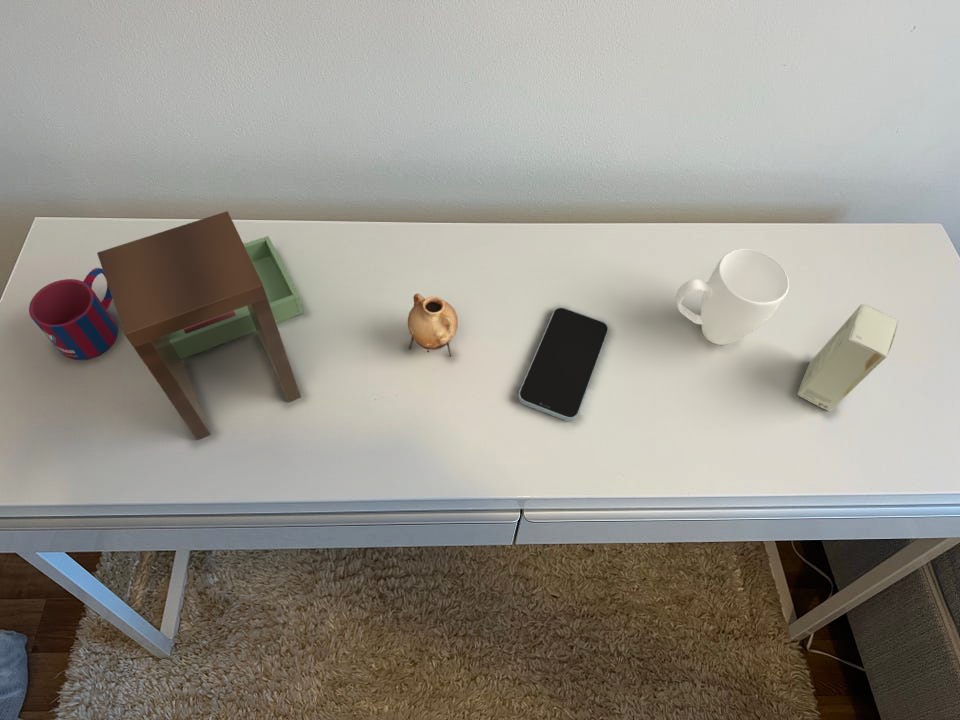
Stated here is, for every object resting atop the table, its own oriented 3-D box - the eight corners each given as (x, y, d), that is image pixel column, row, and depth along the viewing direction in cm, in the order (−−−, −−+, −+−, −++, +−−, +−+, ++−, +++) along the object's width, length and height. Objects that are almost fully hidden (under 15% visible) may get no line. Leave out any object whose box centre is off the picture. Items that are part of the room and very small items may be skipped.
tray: (172, 362, 79) (162, 346, 76) (148, 296, 84) (138, 279, 81) (303, 313, 84) (299, 296, 81) (273, 253, 89) (268, 235, 86)
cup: (45, 345, 79) (14, 311, 74) (106, 287, 84) (83, 251, 79) (89, 369, 78) (61, 336, 72) (149, 308, 83) (128, 273, 77)
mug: (740, 305, 89) (778, 247, 80) (757, 358, 85) (799, 304, 75) (652, 305, 88) (679, 247, 79) (665, 359, 84) (695, 304, 74)
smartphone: (611, 324, 85) (576, 421, 77) (609, 328, 86) (574, 424, 78) (556, 304, 86) (515, 398, 78) (554, 309, 87) (514, 402, 79)
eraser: (186, 331, 81) (191, 343, 80) (178, 317, 79) (183, 329, 78) (234, 313, 83) (240, 325, 82) (228, 298, 80) (234, 310, 80)
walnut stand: (197, 440, 74) (124, 334, 57) (172, 371, 79) (96, 252, 61) (301, 397, 78) (263, 284, 60) (271, 333, 82) (227, 210, 65)
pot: (410, 323, 85) (405, 363, 81) (410, 278, 79) (404, 319, 75) (457, 327, 85) (454, 367, 81) (461, 283, 79) (457, 324, 75)
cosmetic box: (829, 413, 81) (887, 360, 71) (795, 395, 82) (847, 340, 72) (843, 375, 84) (901, 319, 74) (810, 358, 85) (862, 301, 75)
